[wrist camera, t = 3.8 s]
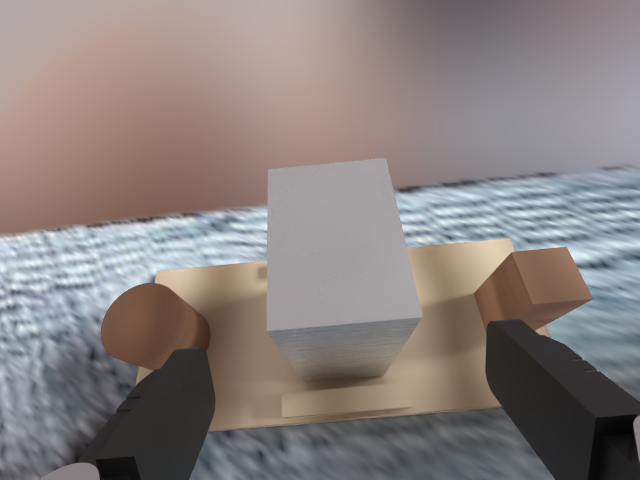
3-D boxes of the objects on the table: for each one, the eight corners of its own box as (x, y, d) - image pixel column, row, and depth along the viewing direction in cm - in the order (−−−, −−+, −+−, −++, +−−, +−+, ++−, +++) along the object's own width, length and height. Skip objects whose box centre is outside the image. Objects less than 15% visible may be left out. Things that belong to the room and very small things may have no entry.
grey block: (367, 277, 20) (385, 157, 11) (383, 376, 17) (423, 317, 9) (300, 283, 20) (268, 169, 11) (305, 383, 17) (266, 331, 9)
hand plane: (491, 260, 23) (553, 186, 16) (544, 403, 19) (661, 385, 12) (177, 289, 24) (109, 228, 17) (155, 436, 19) (47, 437, 12)
